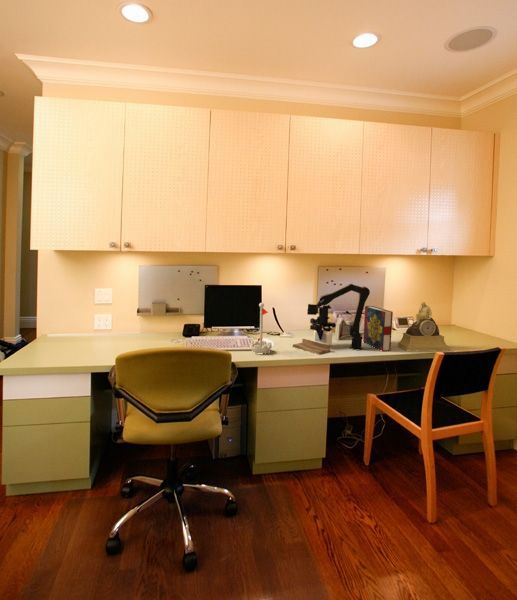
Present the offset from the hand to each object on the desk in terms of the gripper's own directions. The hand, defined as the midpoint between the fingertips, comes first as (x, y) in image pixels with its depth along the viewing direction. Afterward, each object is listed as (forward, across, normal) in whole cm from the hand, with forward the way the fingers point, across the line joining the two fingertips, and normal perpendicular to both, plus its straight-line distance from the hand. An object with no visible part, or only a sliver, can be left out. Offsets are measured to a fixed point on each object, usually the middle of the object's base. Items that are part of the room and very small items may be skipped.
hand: (322, 339), depth 251 cm
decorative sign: (+5, -34, -9) cm, 36 cm away
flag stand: (+5, +40, -14) cm, 43 cm away
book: (+5, -29, +20) cm, 36 cm away
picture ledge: (+5, +11, 0) cm, 12 cm away
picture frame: (+3, 0, 0) cm, 3 cm away
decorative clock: (+5, -50, +41) cm, 65 cm away
